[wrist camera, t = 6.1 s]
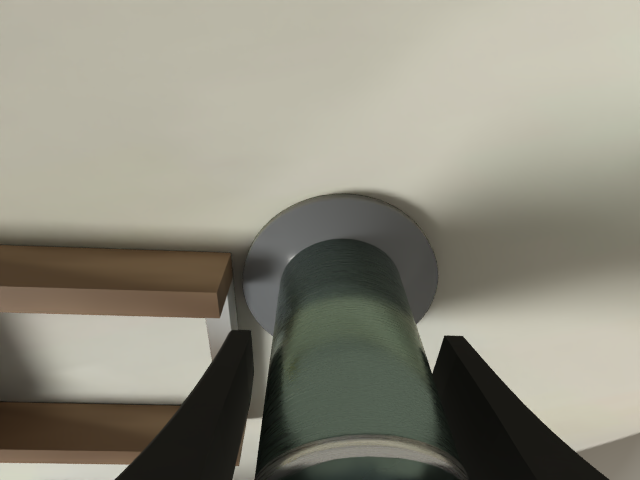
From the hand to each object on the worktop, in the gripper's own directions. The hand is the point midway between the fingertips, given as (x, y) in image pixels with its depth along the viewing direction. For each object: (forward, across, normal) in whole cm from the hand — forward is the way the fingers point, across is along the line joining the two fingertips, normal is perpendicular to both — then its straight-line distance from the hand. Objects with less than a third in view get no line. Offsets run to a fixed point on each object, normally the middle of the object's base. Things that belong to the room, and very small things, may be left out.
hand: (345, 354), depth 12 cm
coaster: (+4, 0, 0) cm, 4 cm away
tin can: (+3, 0, 0) cm, 3 cm away
